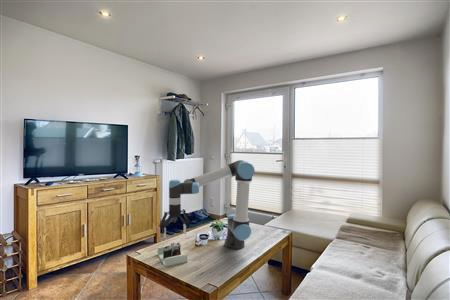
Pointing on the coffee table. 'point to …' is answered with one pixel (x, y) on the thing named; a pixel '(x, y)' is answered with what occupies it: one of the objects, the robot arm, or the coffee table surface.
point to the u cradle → (171, 258)
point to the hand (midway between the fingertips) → (174, 235)
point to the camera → (172, 250)
